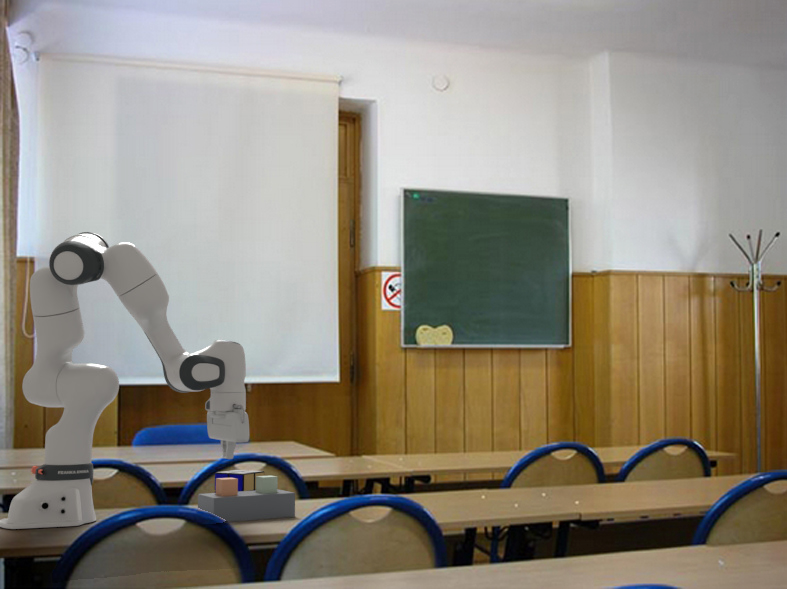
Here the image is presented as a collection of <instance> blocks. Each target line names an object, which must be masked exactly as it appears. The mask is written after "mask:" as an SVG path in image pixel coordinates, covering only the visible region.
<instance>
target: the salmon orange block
mask: <svg viewBox="0 0 787 589" xmlns="http://www.w3.org/2000/svg"><path fill="white" fill-rule="evenodd" d="M216 495H218V496H232V495H238V479H236V478H216Z"/></svg>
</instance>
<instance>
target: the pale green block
mask: <svg viewBox="0 0 787 589" xmlns="http://www.w3.org/2000/svg"><path fill="white" fill-rule="evenodd" d="M278 477H279V476H277V475H276V476H275V475H265V476H256V492H257V493H261V494H263V493H277V489H278V485H279V484H278V481H279V480H278V479H279V478H278Z"/></svg>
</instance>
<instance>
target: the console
mask: <svg viewBox="0 0 787 589" xmlns="http://www.w3.org/2000/svg"><path fill="white" fill-rule="evenodd" d="M198 508H200V509H202V510H205V511H208V512H211V513H213V514H215V515H217V516H219V517H221V518H223V519H225V520H226V521H228V522H227V523H230V522H232V523H233V522H243V521H244V522H245V521H256V520H257V521H258V520H269V519H270V520H271V519H281V518H291V517H293V518H294V517H296V492H294V491H293V492H292V491H287V490H284V489H277V493H263V494H261V493H257V492H256V490H254V491H238V495H232V496H218V495H216V493H215V492H211V493H210V492H207V493H198V494H197V509H198Z"/></svg>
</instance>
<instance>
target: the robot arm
mask: <svg viewBox="0 0 787 589" xmlns="http://www.w3.org/2000/svg"><path fill="white" fill-rule="evenodd" d="M48 264H49V265H47V266H44V267H40V268H39V269H36V271H35V272H33V274H32V275H31V276H30V281H29V294H30V295H29V296H30V305H31V306H30V308H31V313H32V318H33V322H34V323H33V324H34V328H35V335H36V343H37V344H36V345H37V346H36V349H37V350H36V356H35V359H34V362H33V364H32V366H31V367H30V369H28V370H27V372H26V373H25V374H24V376H23V380H22V387H21V388H22V393H23V396H24V399H26V400H27V401H28V403H30V404H33V405H37V406H40V407H45V408H63V413H62V415H61V417H60V418H59V420H58V422H57V423H56V424H53V425H52V426H51V427H50V428H49V429H47V431H46V433H45V439H44V440H45V444H44V464H42V465H40V466H37V465H33V466H32V467H31V468H30V473H31V474H33V475H35V476H34V478H35V480H34V481H33V482H32V483H30V484H29V485H28V486H26V487H24V489H23V490H21V491H20V492H19V493H17V494H15V496H13V498H12V500H11V502H10V505H9V510H8V515H7V518H1V519H0V528H1V529H2V528H3V529H7V530H8V529H10V530H16V529H17V530H20V529H39V528H57V527H58V528H60V527H78V526H81V525H84V524H88V523H93V522H95V521H97V516H96V512H95V507H94V500H93V491H92V489H93V488H92V486H93V484H94V483H93V482H94V463H92V455H93V454H92V453H93V441H94V432H95V428H96V426H97V422H98V420H99V418H100V417H101V415H102V413H103V411H104V410H105V409H106V408H107V407H108V406H109V405H110V404H112V403H113V402H114V401H115V399H116V397H117V395H118V393H119V391H120V390H119V389H120V380H119V376H118V374H117V372H116V371H115V369H113V368H112V367H110V366H107V365H104V364H103V365H102V364H99V363H89V362H87V363H86V362H85V363H74V362H73V356H72V355H73V350H75V348H77V347H78V346H79V345H80V344H81V343H82V342H83V341H84V338H85V330H84V325H83V319H82V312H81V308H80V303H79V298H78V297H79V296H78V286H79V285H80V286H81V285H84V284H87V283H92V282H96V281H99V280H100V279H102V280H104V281H105V282H107V283H108V284H109V285H110V287H111V288H112V290H113V291H114V293H115V295H116V296H117V297H118V299H119V301H120V302H121V304H123V307H124V308H125V309H126V310H127V311H128V313H129V314H130V315H131V316H132V317H133V319H134V320H135V321H136V322H137V324H138V325H139V327H140V328H141V330H142V331H143V332H144V334H145V335H146V337H147V339H148V340H149V343H150V345H151V346H152V348H153V349H154V351H155V353H156V354H157V356H158V357H159V360H160V362H161V365H162V371H163V377H164V380H165V383H166V384H167V385H168V387H169V388H170V389H172V390H173V391H175V392H178V393H182V394H183V393H184V394H186V393H190V392H194V393H195V392H197V393H198V392H201V391H204V390H208V389H209V390H210V397H209V399H208V400H207V401H206V402H205V403H204V404H205V405H204V406H205V408H204V409H205V410H206V411H207V414H206V427H207V435H208V438H209V439H213V440H219V441H220V446H221V451H222V458H223V459H227V460H233V459H234V455H235V454H234V452H235V448H236V447H237V446H236V445H237V444H239V443H240V444H241V443H248V442H249V440H250V422H249V415H248V413H247V412H246V409H247V408H246V407H247V403H246V402H247V395H246V394H247V390H246V386H245V378H246V376H247V374H246V373H247V369H246V354H245V350H244V348H243V346H242V344H240V343H239V342H236V341H233V340H232V341H231V340H228V339H227V340H225V339H216V340H214V341H213V342H212V343H210V344H208V345H207V346H205V347H203V348H201V349H199V350H197V351H194V352H192V353H190V352H188V351H187V350H186V349H184V348H183V346H182V345H181V343H180V341H179V339H178V338H177V335H176V334H175V332H174V330H173V329H172V328H171V324H169V321H168V316H167V311H168V306H169V301H170V295H169V294H168V290H167V288H166V286H165V284H164V282H163V280H162V278H161V276H160V275H159V274H158V272H157V270H156V269H155V267H154V266H153V265H152V263H151V262H150V261H149V260H148V257H146V256H145V254H144V253H143V252H142V251H141V250H140V249H139V248H138V247H137V246H136V245H135V244H133V243H131V242H119V243H115V244H113V245H112V246H109V244H108V242H107V240H105V239H104V237H103V236H101V235H100V234H98V233H95V232H90V231H85V232H80V233H77V234H75V235H72V236H69V237H68V238H66V239H64V241H63V242H61V243H59V244H57V246H55V248H54V249H53V250H52V252H51V254H50V256H49V262H48Z"/></svg>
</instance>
